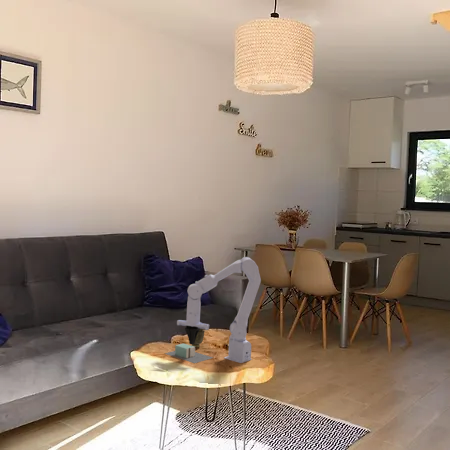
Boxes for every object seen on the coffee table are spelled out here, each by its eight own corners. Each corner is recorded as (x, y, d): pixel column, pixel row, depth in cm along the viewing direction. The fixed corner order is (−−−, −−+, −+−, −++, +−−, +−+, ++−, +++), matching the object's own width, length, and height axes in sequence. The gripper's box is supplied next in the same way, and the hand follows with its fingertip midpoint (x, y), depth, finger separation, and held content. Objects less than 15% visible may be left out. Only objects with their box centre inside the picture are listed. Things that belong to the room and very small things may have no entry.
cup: (204, 345, 253) (205, 328, 253) (202, 349, 246) (203, 332, 246) (189, 344, 254) (189, 327, 254) (186, 348, 247) (187, 331, 246)
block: (195, 346, 235) (183, 343, 239) (187, 348, 231) (175, 345, 235) (194, 355, 235) (183, 352, 239) (186, 358, 231) (174, 354, 235)
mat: (213, 358, 234) (213, 357, 234) (194, 364, 225) (194, 363, 225) (183, 349, 245) (183, 348, 245) (164, 354, 236) (164, 353, 236)
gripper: (212, 313, 232) (211, 344, 233) (183, 308, 238) (181, 339, 239) (205, 316, 226) (203, 348, 227) (175, 311, 232) (173, 342, 232)
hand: (191, 343), depth 232 cm, fingers closed
